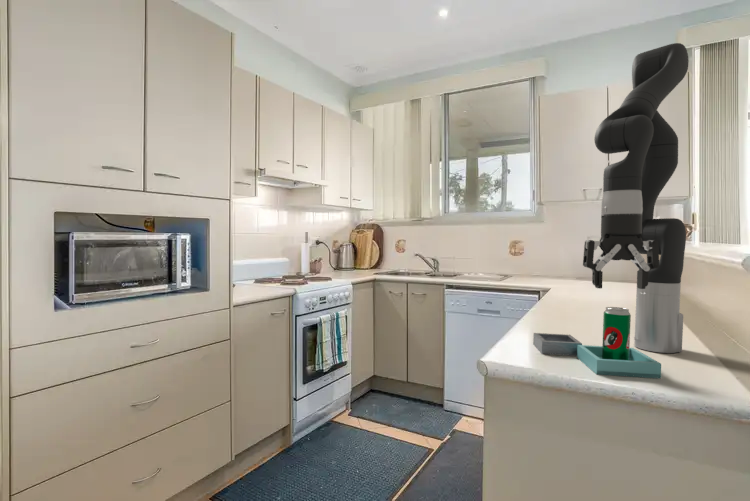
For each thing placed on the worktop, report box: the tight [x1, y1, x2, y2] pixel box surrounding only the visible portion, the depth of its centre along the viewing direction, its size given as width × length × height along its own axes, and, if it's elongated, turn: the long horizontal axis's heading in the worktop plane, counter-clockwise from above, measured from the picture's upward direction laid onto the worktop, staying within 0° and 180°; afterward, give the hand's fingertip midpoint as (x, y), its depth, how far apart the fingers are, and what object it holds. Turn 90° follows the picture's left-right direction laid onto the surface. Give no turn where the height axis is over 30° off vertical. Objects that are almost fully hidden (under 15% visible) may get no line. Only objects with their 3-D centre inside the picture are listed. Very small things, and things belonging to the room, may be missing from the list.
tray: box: [576, 344, 662, 379], centre depth 89 cm, size 12×12×3 cm
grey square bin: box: [532, 332, 583, 357], centre depth 102 cm, size 9×9×3 cm
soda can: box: [601, 306, 632, 360], centre depth 89 cm, size 5×5×12 cm
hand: (619, 288), depth 88 cm, fingers open, 8 cm apart
